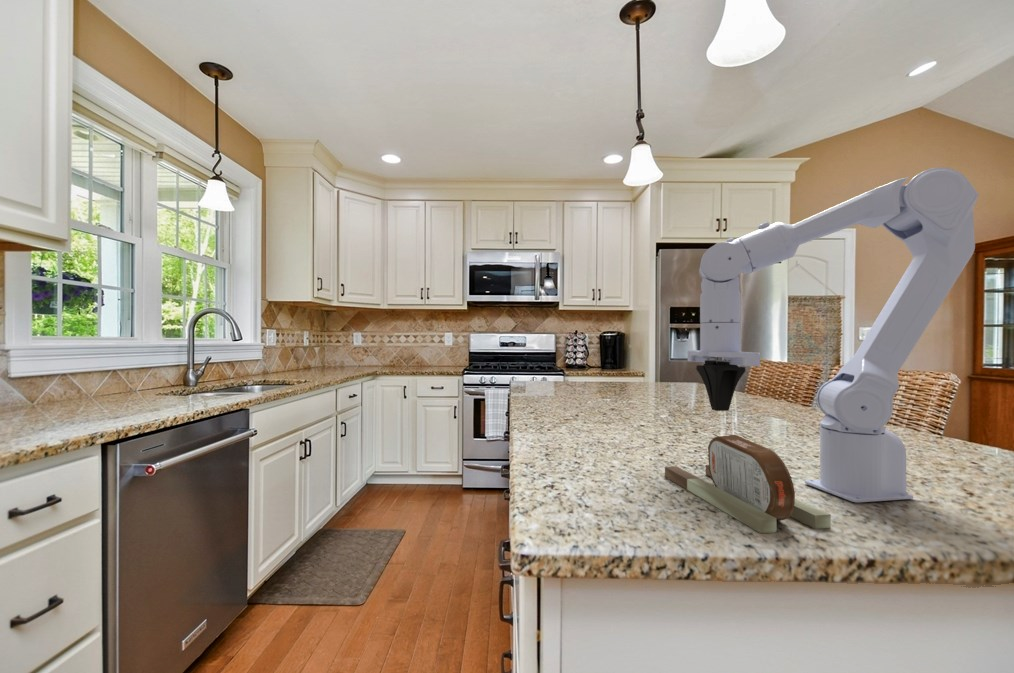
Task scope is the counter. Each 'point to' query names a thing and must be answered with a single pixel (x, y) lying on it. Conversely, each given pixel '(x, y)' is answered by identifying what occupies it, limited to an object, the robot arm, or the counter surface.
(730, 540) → the counter surface
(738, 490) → the tin
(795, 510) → the rail
